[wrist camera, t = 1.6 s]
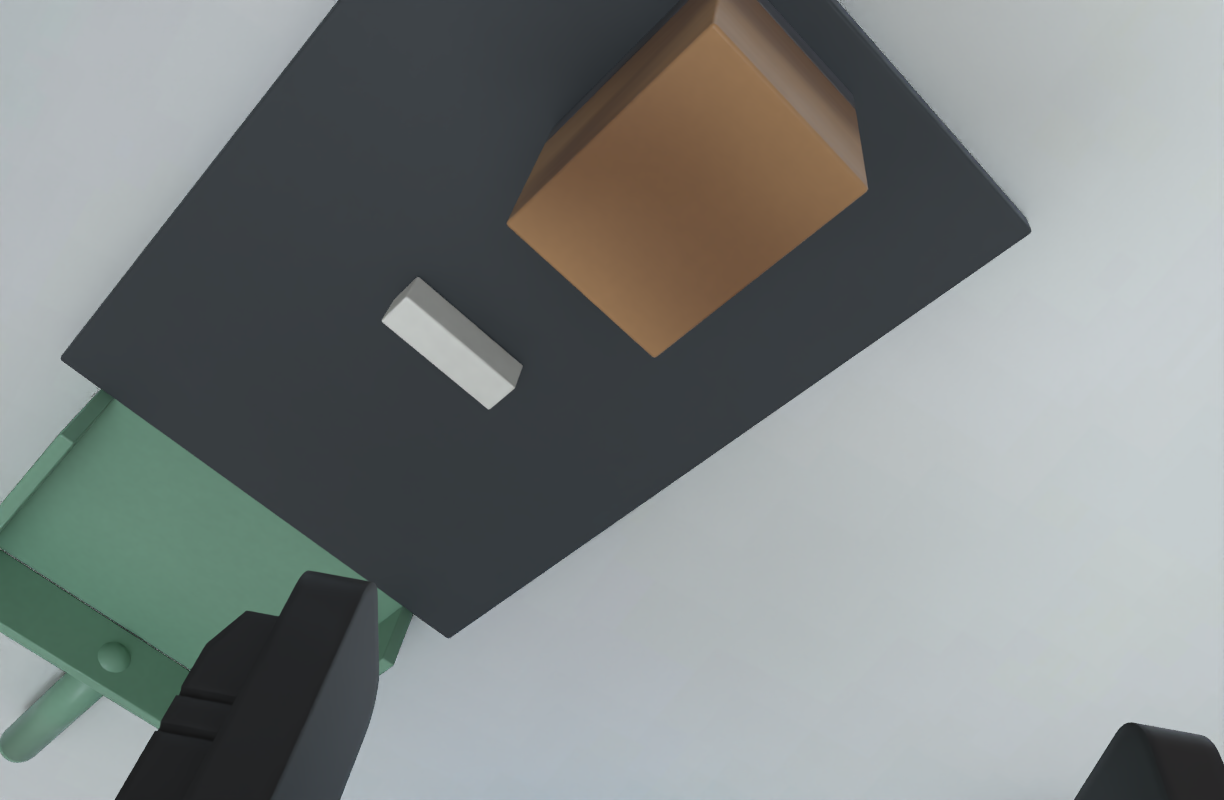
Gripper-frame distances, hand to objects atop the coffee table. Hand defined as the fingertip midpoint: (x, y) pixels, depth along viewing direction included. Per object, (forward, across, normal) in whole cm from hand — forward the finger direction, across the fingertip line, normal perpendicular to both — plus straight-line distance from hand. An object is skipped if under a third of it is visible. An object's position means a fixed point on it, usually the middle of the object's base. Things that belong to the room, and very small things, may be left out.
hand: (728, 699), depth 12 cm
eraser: (+18, +2, 0) cm, 18 cm away
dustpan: (+19, +20, +24) cm, 36 cm away
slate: (+18, +6, +6) cm, 21 cm away
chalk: (+18, +7, +8) cm, 21 cm away
